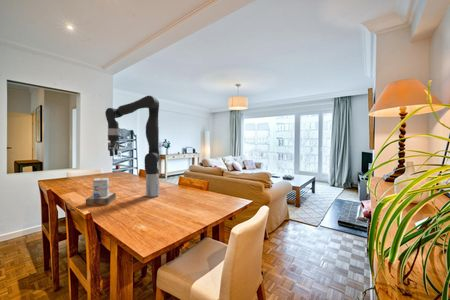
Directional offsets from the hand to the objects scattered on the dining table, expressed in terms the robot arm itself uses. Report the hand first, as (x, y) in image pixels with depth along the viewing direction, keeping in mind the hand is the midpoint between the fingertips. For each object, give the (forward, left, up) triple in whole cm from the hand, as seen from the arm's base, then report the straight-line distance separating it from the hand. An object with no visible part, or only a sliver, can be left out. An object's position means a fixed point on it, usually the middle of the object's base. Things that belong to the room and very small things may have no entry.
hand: (113, 155), depth 147 cm
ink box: (+1, +19, -26) cm, 32 cm away
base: (+1, +19, -30) cm, 36 cm away
